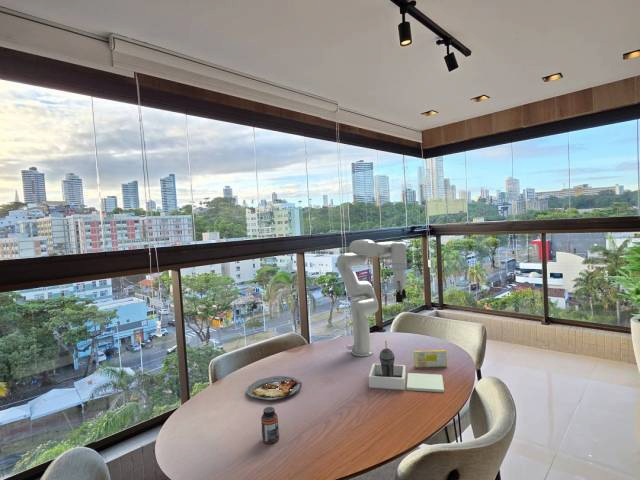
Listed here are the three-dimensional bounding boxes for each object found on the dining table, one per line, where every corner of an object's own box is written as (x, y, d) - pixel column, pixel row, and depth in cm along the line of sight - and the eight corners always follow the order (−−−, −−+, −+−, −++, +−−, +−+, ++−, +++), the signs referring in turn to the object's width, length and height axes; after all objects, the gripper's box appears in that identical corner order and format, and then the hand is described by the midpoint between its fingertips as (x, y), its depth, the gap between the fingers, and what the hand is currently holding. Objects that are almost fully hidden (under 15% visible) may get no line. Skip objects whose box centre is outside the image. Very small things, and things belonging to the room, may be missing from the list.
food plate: (309, 383, 175) (309, 376, 175) (285, 407, 154) (284, 398, 154) (266, 378, 185) (265, 371, 185) (237, 399, 164) (237, 392, 164)
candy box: (446, 365, 188) (445, 349, 188) (447, 367, 186) (446, 351, 186) (414, 365, 190) (413, 350, 190) (415, 367, 188) (414, 351, 187)
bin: (369, 387, 168) (368, 376, 167) (373, 373, 183) (373, 363, 183) (404, 389, 163) (404, 378, 163) (405, 375, 179) (405, 365, 178)
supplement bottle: (263, 435, 133) (261, 405, 133) (279, 434, 133) (277, 404, 133) (261, 445, 127) (259, 414, 127) (278, 443, 128) (277, 412, 127)
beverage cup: (396, 378, 175) (394, 337, 175) (394, 385, 169) (392, 342, 168) (381, 377, 178) (379, 337, 177) (379, 383, 171) (377, 341, 170)
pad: (406, 389, 163) (406, 387, 163) (408, 375, 178) (407, 372, 178) (444, 392, 159) (444, 389, 159) (442, 377, 174) (442, 374, 174)
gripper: (395, 264, 191) (396, 296, 192) (388, 268, 175) (390, 303, 176) (409, 264, 189) (411, 297, 189) (404, 268, 173) (406, 304, 173)
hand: (401, 300), depth 183 cm, fingers open, 9 cm apart
